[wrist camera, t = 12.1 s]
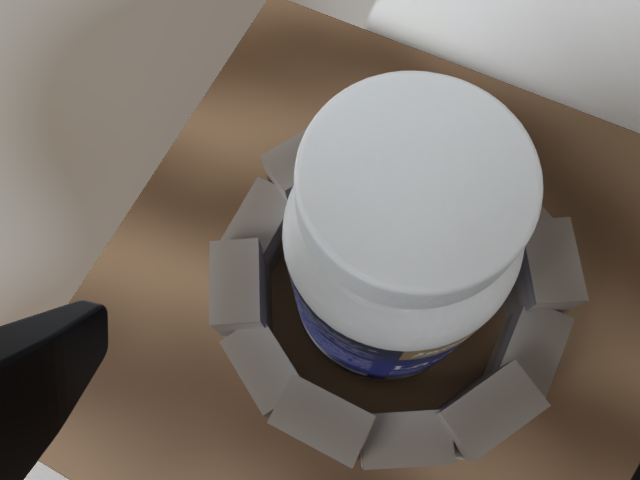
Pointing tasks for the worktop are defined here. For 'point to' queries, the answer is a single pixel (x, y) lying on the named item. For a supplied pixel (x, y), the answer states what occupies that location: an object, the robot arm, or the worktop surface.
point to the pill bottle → (407, 220)
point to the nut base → (287, 328)
